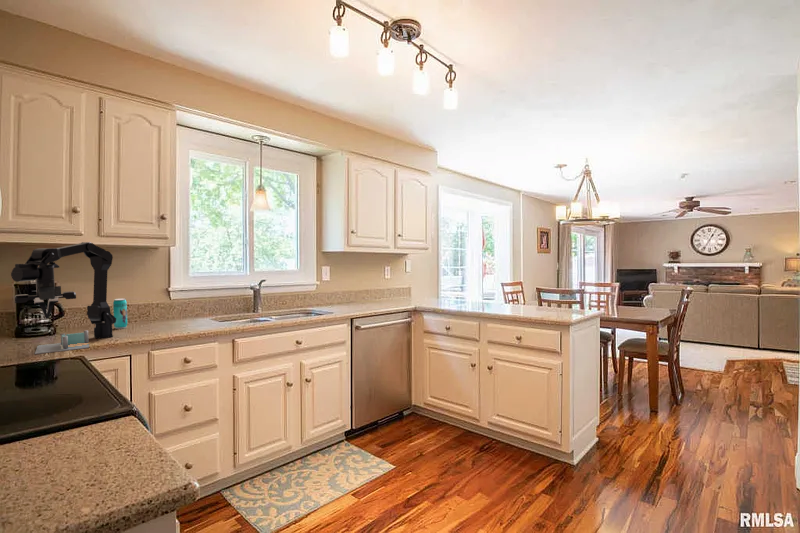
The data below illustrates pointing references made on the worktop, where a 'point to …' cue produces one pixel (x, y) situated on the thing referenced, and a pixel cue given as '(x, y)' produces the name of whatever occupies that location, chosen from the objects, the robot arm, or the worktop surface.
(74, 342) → the fence fixed
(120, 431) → the worktop surface
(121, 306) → the beverage can
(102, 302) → the robot arm
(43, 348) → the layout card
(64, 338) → the fence gate
